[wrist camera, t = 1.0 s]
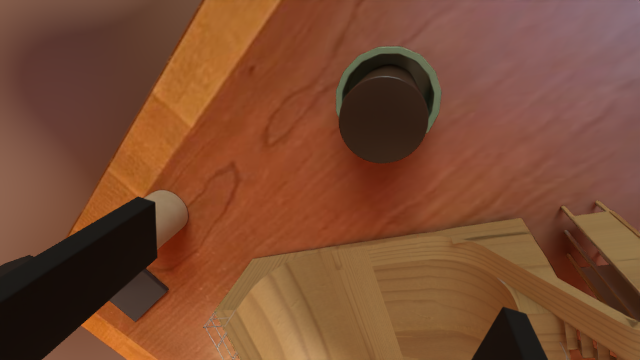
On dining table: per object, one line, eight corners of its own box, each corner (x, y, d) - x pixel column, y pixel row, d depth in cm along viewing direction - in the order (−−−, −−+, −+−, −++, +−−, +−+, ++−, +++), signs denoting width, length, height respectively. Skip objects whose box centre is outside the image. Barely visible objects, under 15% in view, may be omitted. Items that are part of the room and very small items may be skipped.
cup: (327, 93, 30) (315, 100, 26) (392, 24, 26) (391, 21, 22) (384, 153, 31) (382, 169, 27) (454, 94, 27) (463, 103, 23)
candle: (173, 237, 41) (110, 291, 32) (141, 206, 40) (66, 253, 31) (197, 213, 38) (136, 265, 29) (162, 180, 38) (89, 223, 29)
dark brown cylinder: (347, 94, 29) (321, 120, 19) (390, 50, 27) (386, 54, 17) (385, 134, 29) (378, 179, 19) (430, 95, 27) (448, 123, 17)
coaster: (85, 275, 48) (82, 278, 47) (113, 240, 43) (109, 242, 43) (137, 319, 49) (135, 322, 48) (169, 288, 45) (166, 291, 44)
